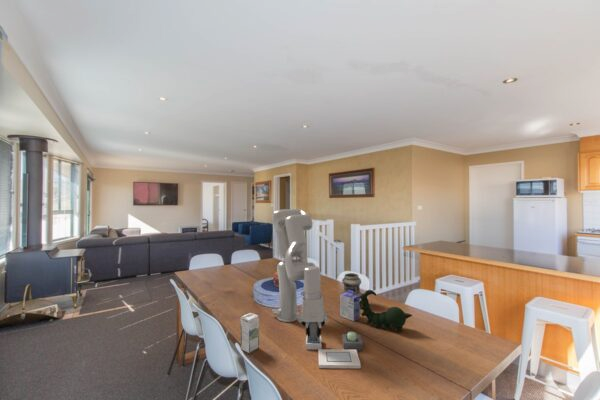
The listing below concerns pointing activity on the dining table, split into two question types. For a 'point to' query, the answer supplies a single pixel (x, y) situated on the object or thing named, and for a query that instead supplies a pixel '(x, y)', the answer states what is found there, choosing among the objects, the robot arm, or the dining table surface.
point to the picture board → (338, 358)
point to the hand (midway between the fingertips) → (313, 335)
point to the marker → (313, 332)
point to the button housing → (352, 343)
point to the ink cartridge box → (349, 306)
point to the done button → (351, 336)
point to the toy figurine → (383, 314)
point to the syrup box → (249, 332)
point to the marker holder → (313, 344)
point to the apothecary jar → (352, 284)
